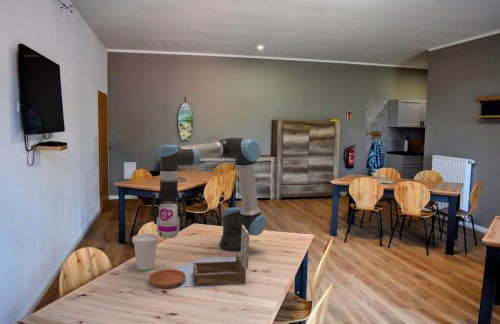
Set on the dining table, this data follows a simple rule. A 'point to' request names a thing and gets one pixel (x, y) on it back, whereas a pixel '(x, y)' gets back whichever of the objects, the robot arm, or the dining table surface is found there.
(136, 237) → the cup
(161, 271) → the saucer
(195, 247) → the dining table surface
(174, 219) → the supplement can
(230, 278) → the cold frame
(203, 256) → the dining table surface
